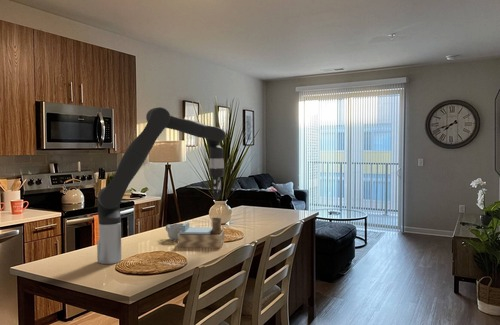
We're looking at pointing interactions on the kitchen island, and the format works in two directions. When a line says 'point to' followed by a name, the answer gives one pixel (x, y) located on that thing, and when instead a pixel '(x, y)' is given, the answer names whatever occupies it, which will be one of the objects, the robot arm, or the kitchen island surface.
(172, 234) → the teacup
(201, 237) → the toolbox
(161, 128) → the robot arm
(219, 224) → the brown rectangular block
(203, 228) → the lid
